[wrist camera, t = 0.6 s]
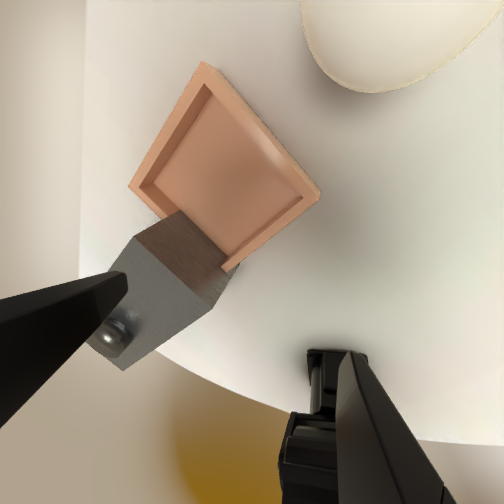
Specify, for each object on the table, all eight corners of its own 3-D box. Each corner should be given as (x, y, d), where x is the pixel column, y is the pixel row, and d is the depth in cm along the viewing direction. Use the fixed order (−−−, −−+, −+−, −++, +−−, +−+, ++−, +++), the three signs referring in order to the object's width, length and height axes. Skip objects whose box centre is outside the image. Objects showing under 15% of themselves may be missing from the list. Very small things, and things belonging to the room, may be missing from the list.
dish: (320, 190, 18) (320, 198, 16) (229, 264, 24) (220, 277, 22) (217, 69, 16) (202, 60, 14) (146, 181, 22) (127, 186, 20)
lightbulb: (289, 55, 15) (234, -64, 6) (380, -69, 12) (606, -845, 2) (352, 129, 16) (394, 132, 7) (452, 33, 13) (817, -232, 3)
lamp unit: (183, 207, 22) (116, 246, 15) (242, 266, 24) (206, 327, 17) (115, 290, 32) (52, 338, 24) (160, 329, 33) (115, 386, 26)
